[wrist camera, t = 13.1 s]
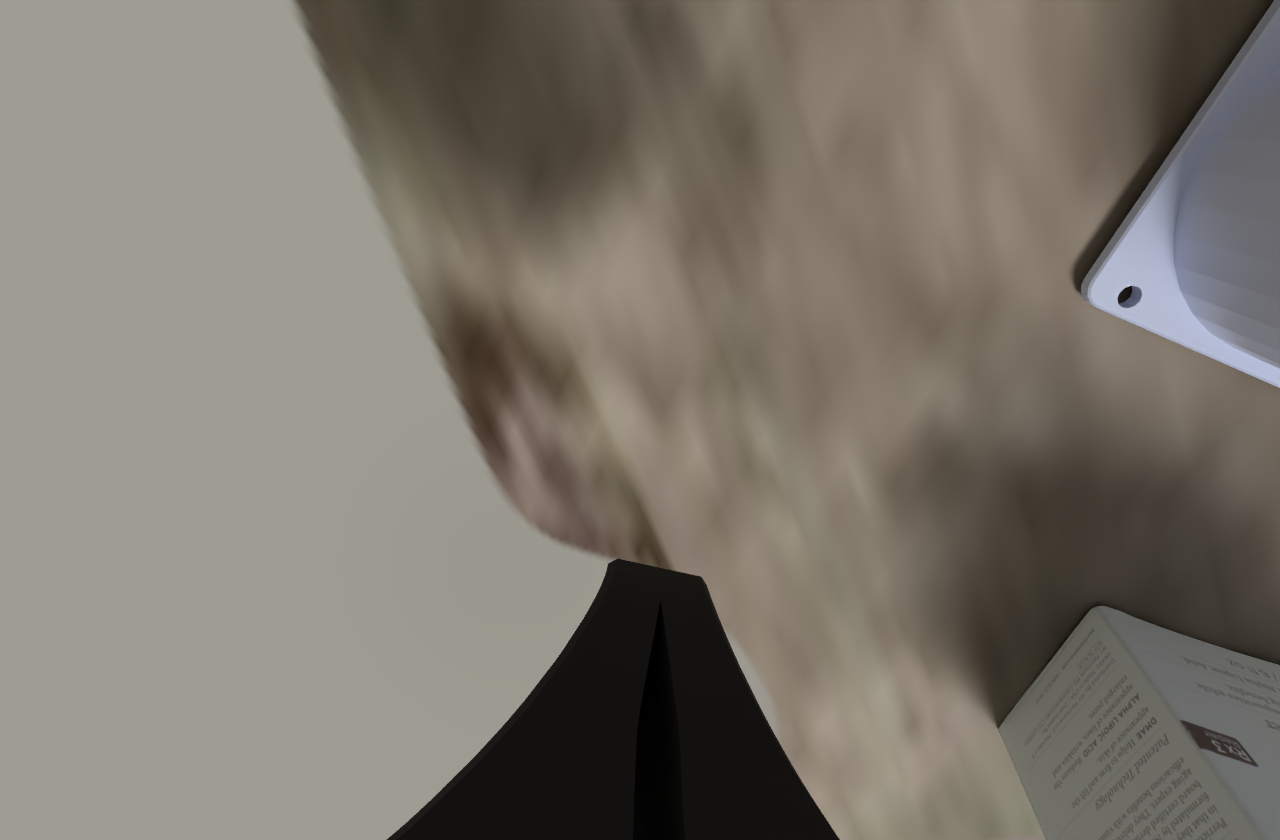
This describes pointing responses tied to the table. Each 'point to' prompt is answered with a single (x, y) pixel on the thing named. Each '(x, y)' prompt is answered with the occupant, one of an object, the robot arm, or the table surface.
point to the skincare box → (1149, 737)
